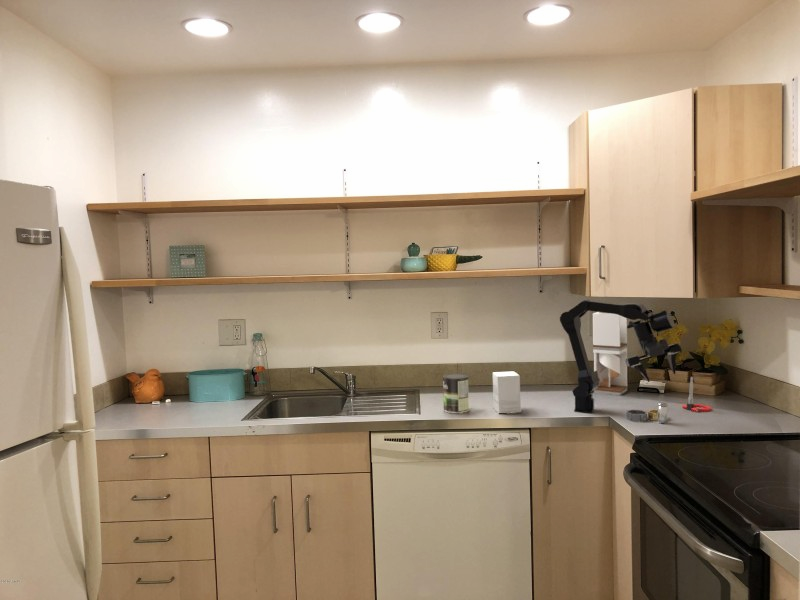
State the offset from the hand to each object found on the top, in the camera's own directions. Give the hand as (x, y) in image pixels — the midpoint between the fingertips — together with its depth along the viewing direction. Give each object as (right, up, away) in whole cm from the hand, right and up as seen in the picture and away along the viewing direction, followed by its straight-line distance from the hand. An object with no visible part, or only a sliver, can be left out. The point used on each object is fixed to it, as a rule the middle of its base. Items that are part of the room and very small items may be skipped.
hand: (661, 378), depth 206 cm
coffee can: (-71, -17, +25) cm, 77 cm away
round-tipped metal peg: (0, -16, -1) cm, 16 cm away
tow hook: (+21, -14, +16) cm, 30 cm away
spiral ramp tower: (-1, -13, +49) cm, 50 cm away
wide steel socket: (-7, -16, +5) cm, 18 cm away
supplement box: (-51, -16, +22) cm, 58 cm away
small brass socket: (0, -16, +5) cm, 16 cm away
